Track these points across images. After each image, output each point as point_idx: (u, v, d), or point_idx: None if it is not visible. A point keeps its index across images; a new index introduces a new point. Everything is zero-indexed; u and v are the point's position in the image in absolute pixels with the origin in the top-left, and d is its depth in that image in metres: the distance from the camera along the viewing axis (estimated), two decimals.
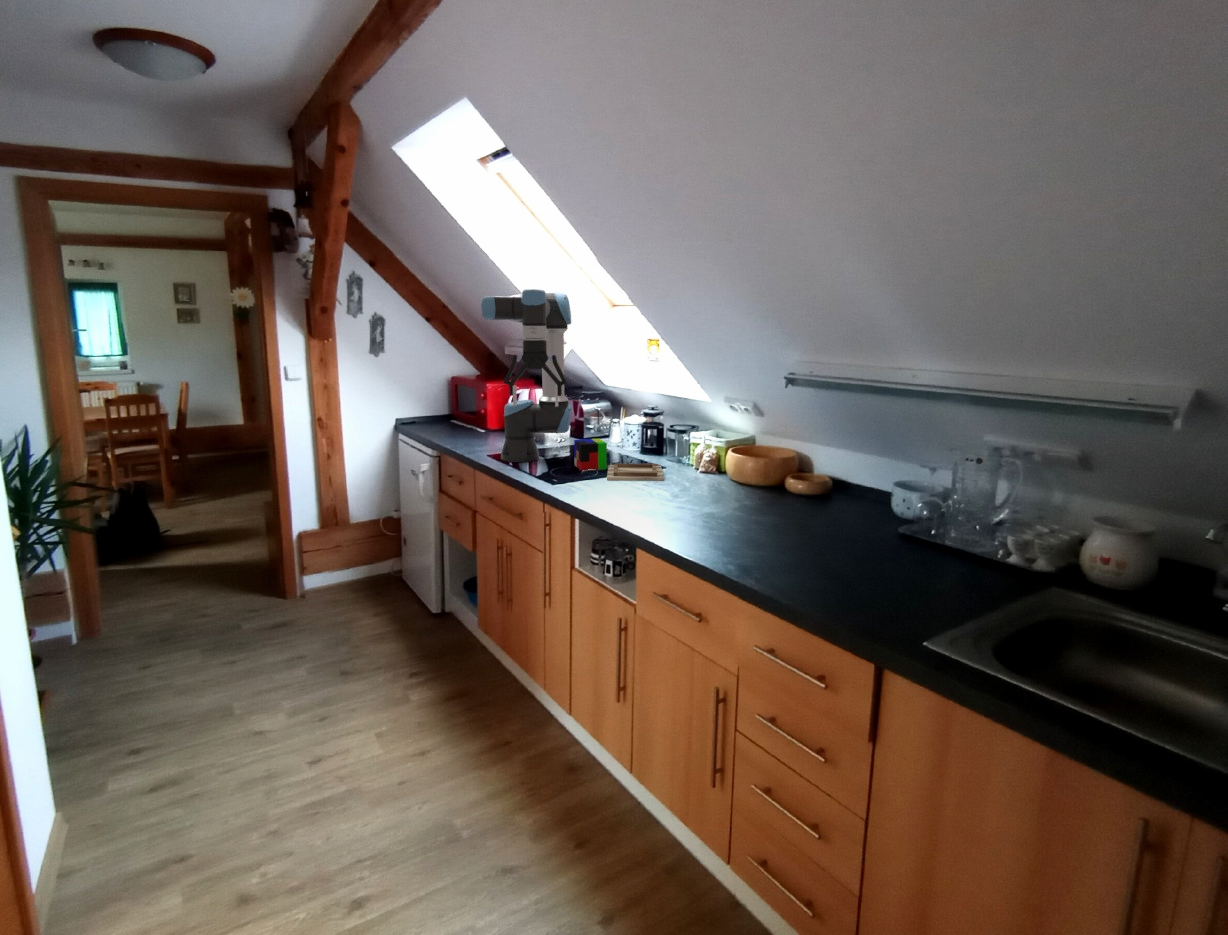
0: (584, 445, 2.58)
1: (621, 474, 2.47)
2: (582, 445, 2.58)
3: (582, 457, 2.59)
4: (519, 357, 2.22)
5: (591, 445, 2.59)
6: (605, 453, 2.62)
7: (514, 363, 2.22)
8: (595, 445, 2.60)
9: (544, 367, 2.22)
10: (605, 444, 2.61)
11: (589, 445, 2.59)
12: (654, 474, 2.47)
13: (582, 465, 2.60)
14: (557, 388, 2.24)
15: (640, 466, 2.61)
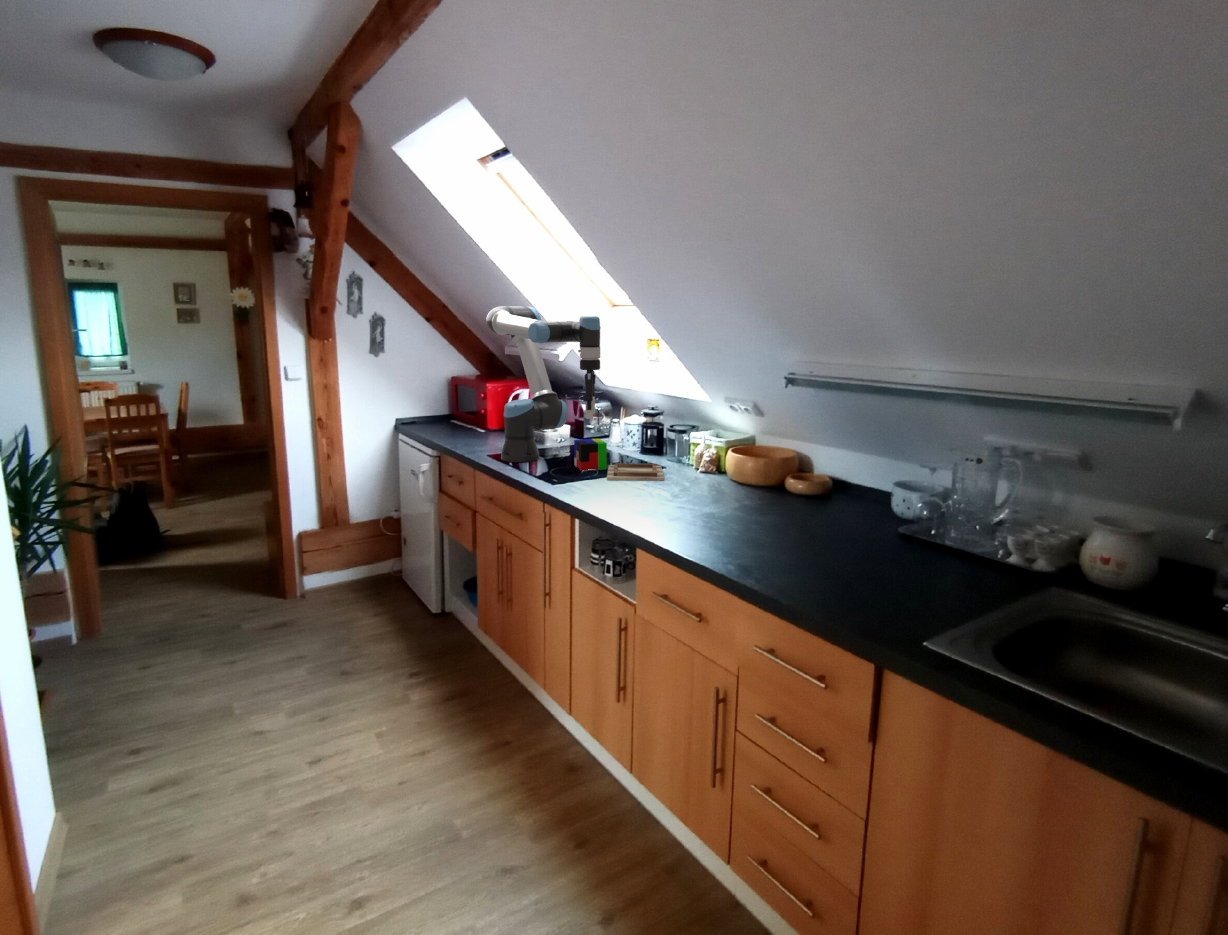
0: (584, 445, 2.59)
1: (621, 474, 2.47)
2: (582, 445, 2.58)
3: (582, 457, 2.59)
4: None
5: (591, 445, 2.59)
6: (605, 453, 2.62)
7: None
8: (595, 445, 2.60)
9: (585, 383, 2.56)
10: (605, 444, 2.61)
11: (589, 445, 2.59)
12: (654, 474, 2.47)
13: (582, 465, 2.60)
14: (586, 402, 2.54)
15: (640, 466, 2.61)
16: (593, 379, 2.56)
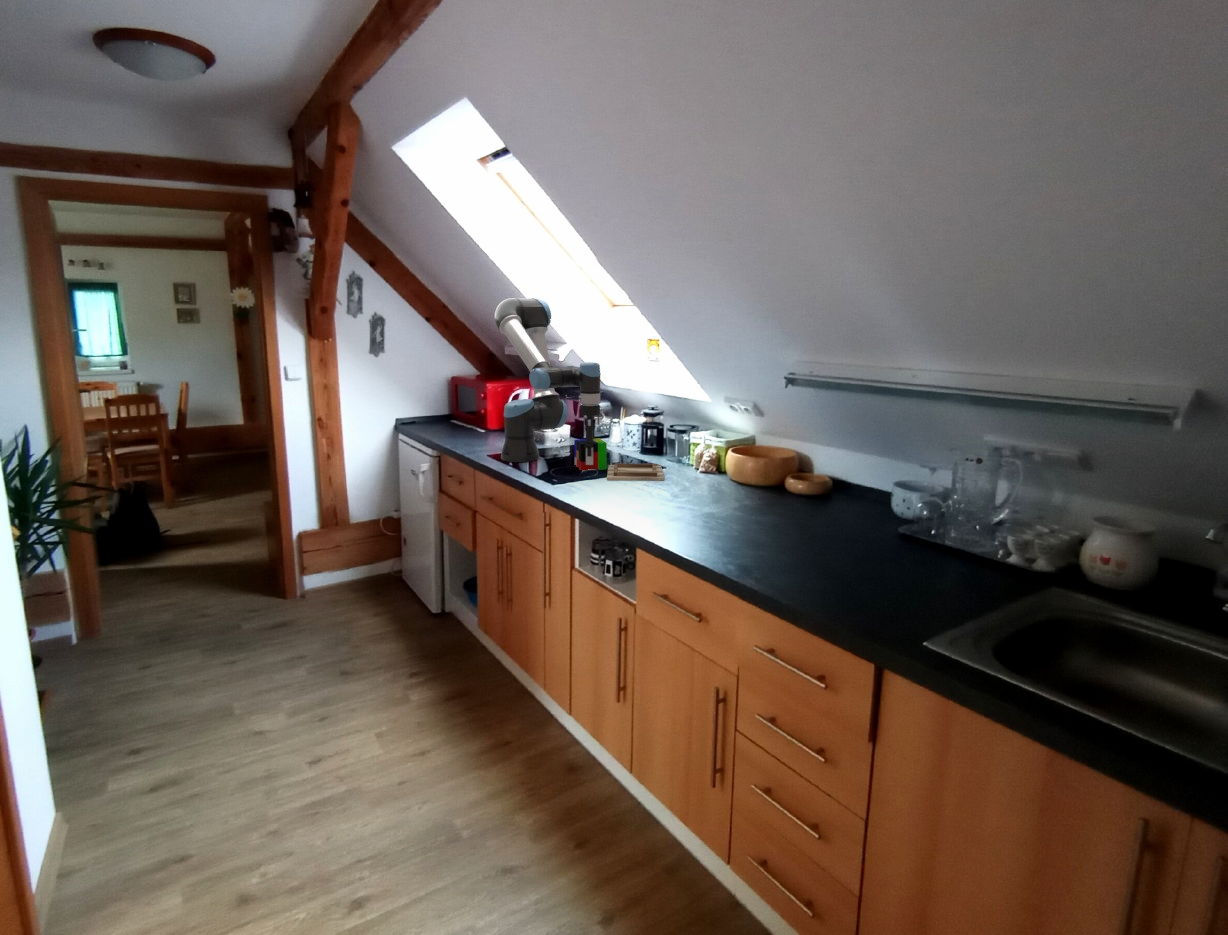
0: None
1: (621, 474, 2.47)
2: (582, 445, 2.58)
3: (582, 457, 2.59)
4: None
5: None
6: (605, 453, 2.62)
7: None
8: (595, 445, 2.60)
9: (585, 428, 2.60)
10: (605, 444, 2.61)
11: None
12: (654, 474, 2.47)
13: (582, 465, 2.60)
14: (586, 449, 2.58)
15: (640, 466, 2.61)
16: (593, 425, 2.60)
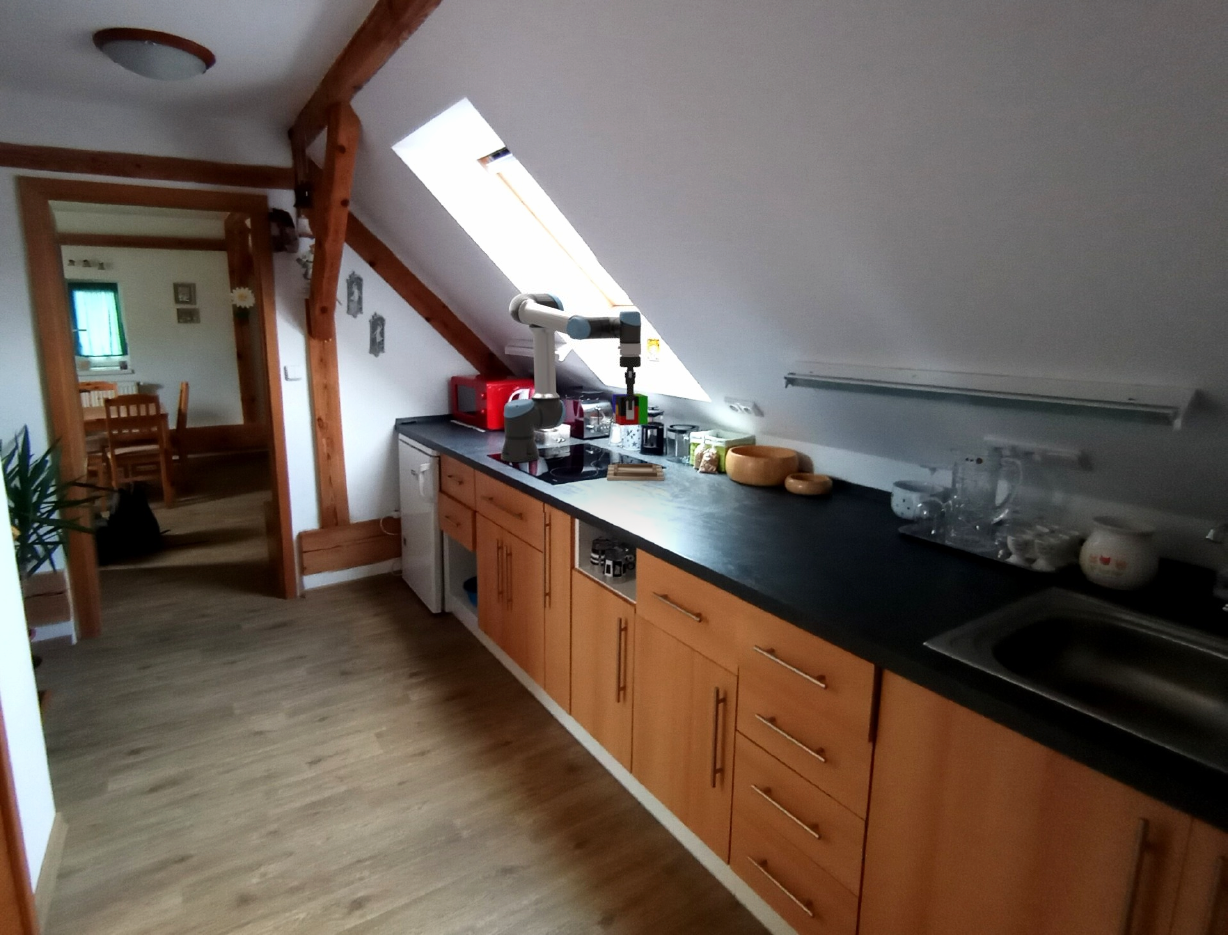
0: (624, 398, 2.45)
1: (621, 474, 2.47)
2: (622, 398, 2.44)
3: (622, 411, 2.45)
4: None
5: None
6: (646, 407, 2.47)
7: None
8: (636, 398, 2.46)
9: (625, 381, 2.46)
10: (646, 397, 2.47)
11: None
12: (654, 474, 2.47)
13: (622, 419, 2.46)
14: (627, 402, 2.44)
15: (640, 466, 2.61)
16: (634, 377, 2.46)
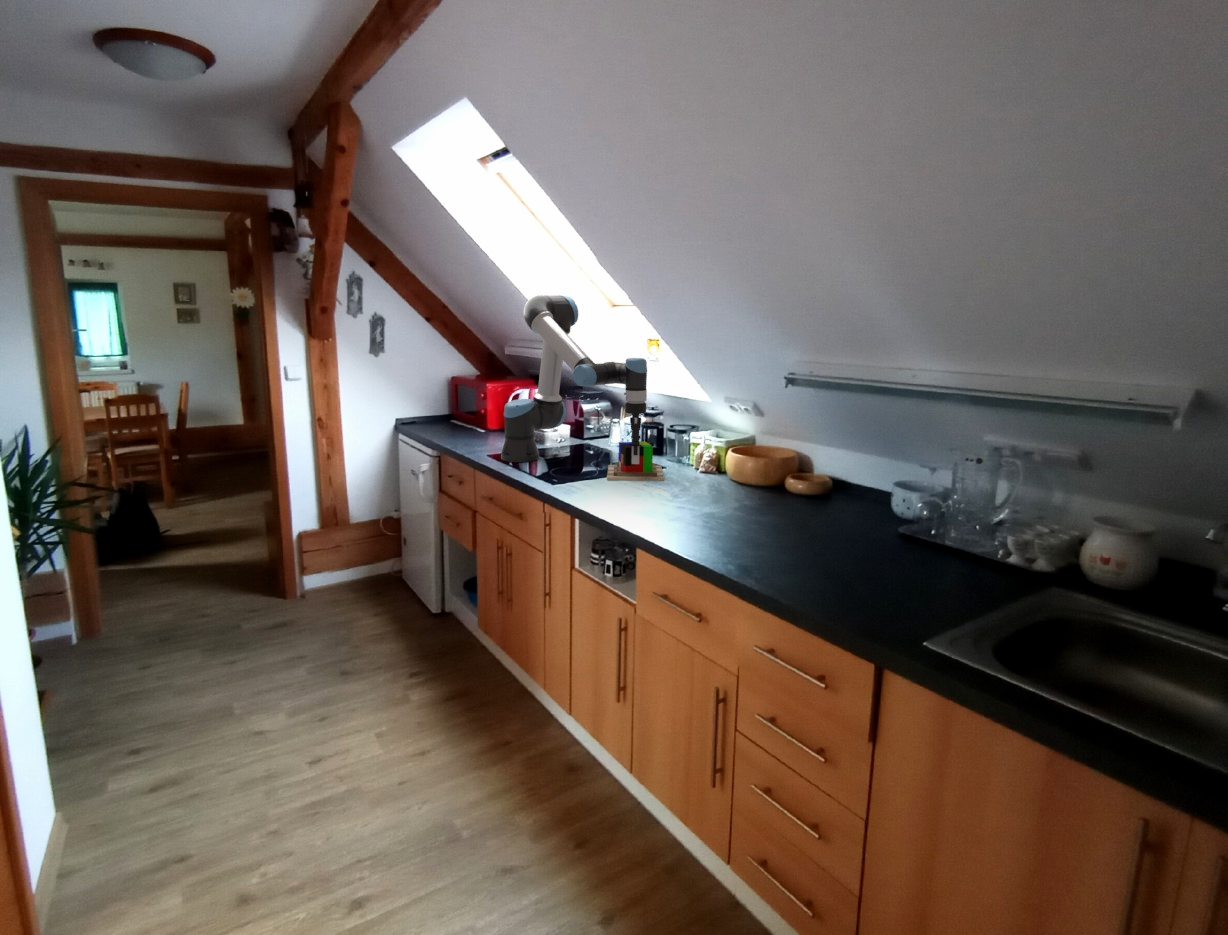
0: (629, 448, 2.47)
1: (621, 474, 2.47)
2: (627, 448, 2.47)
3: (627, 460, 2.48)
4: None
5: None
6: (651, 457, 2.50)
7: None
8: (640, 448, 2.48)
9: None
10: (651, 447, 2.49)
11: None
12: (654, 474, 2.47)
13: (627, 469, 2.49)
14: (632, 448, 2.46)
15: None
16: (639, 423, 2.48)
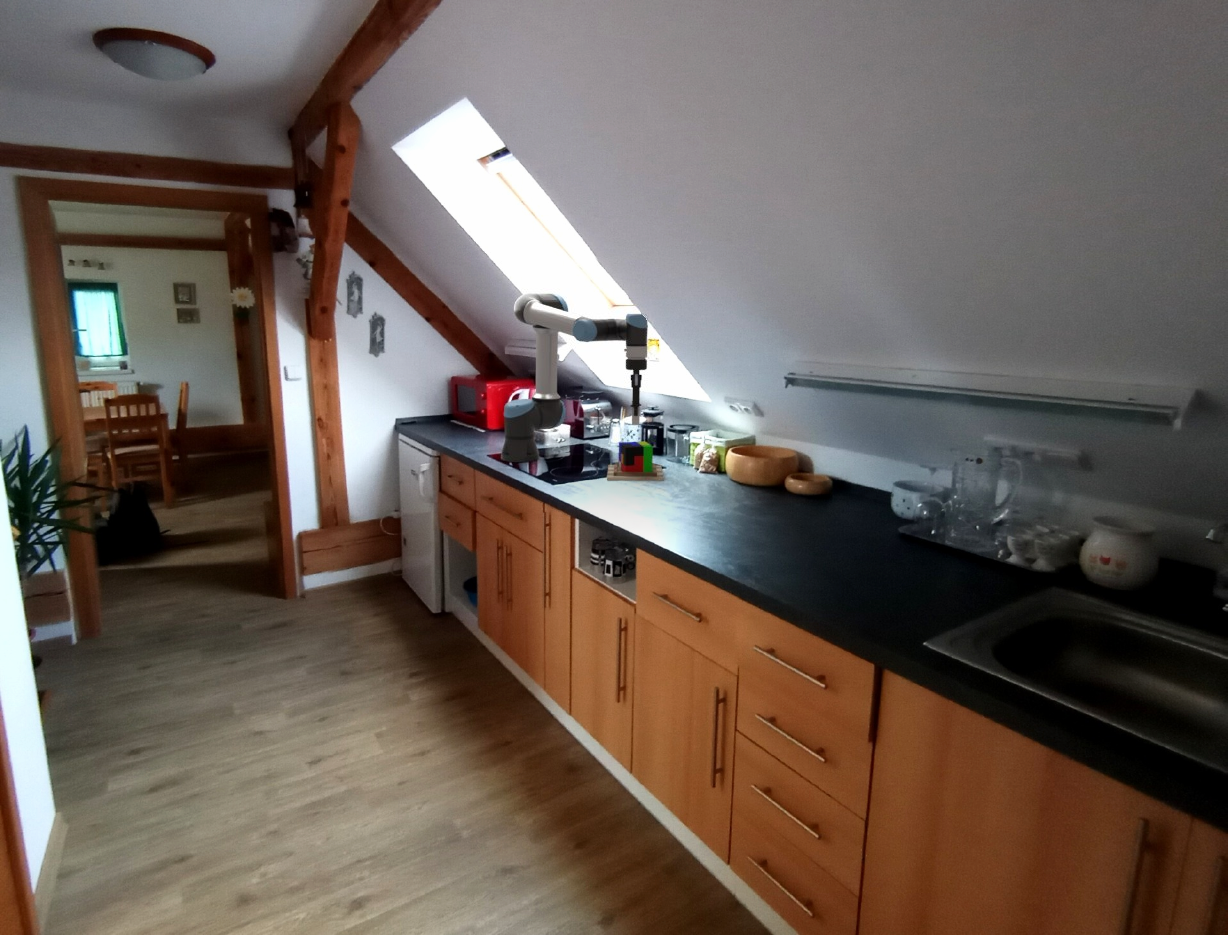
0: (629, 448, 2.47)
1: (621, 474, 2.47)
2: (627, 448, 2.47)
3: (627, 460, 2.48)
4: None
5: (636, 448, 2.48)
6: (651, 457, 2.50)
7: None
8: (640, 448, 2.48)
9: (631, 385, 2.47)
10: (651, 447, 2.49)
11: (634, 448, 2.48)
12: (654, 474, 2.47)
13: (627, 469, 2.49)
14: (633, 408, 2.49)
15: None
16: (640, 381, 2.46)
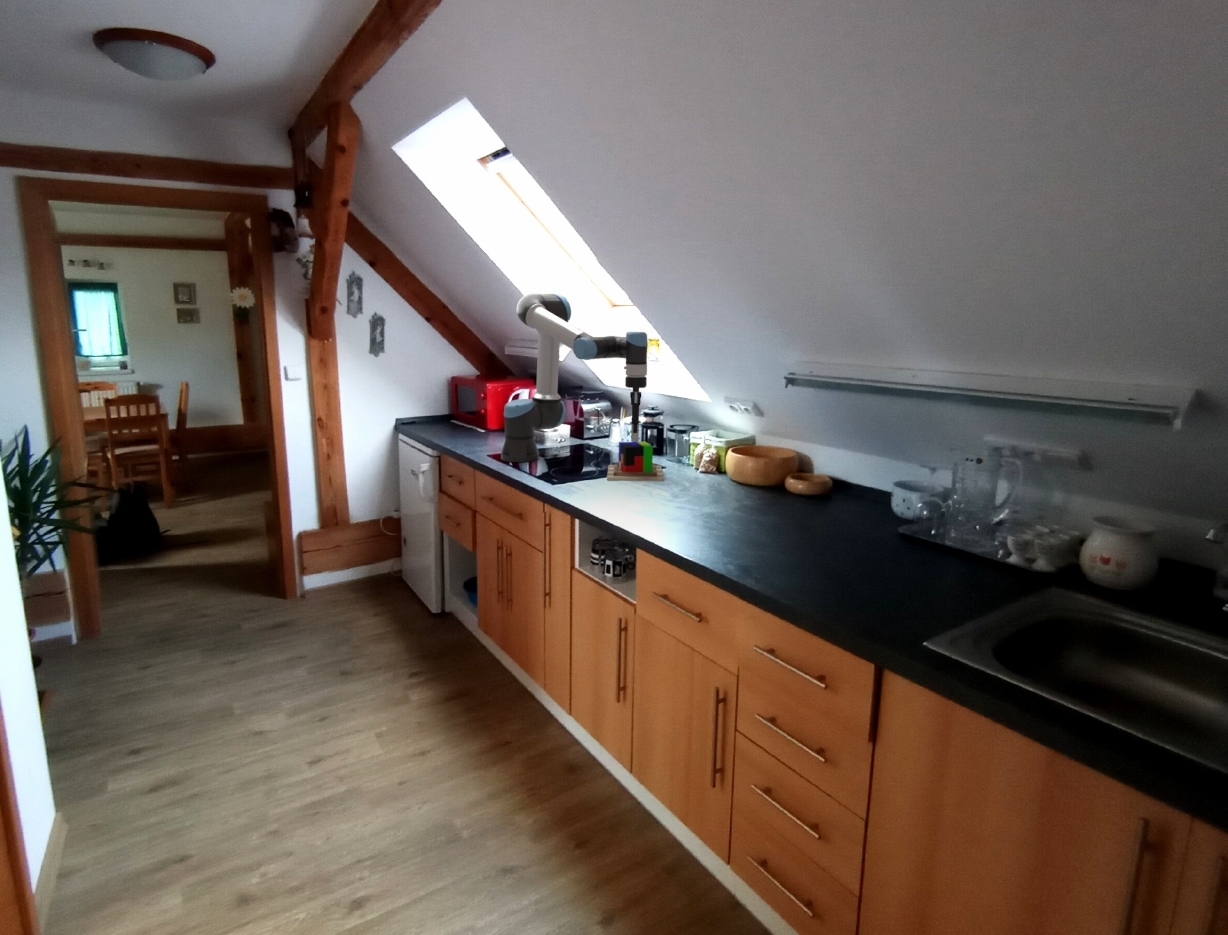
0: (629, 448, 2.47)
1: (621, 474, 2.47)
2: (627, 448, 2.47)
3: (627, 460, 2.48)
4: None
5: (636, 448, 2.48)
6: (651, 457, 2.50)
7: None
8: (640, 448, 2.48)
9: None
10: (651, 447, 2.49)
11: (634, 448, 2.48)
12: (654, 474, 2.47)
13: (627, 469, 2.49)
14: (632, 425, 2.51)
15: None
16: (639, 399, 2.47)
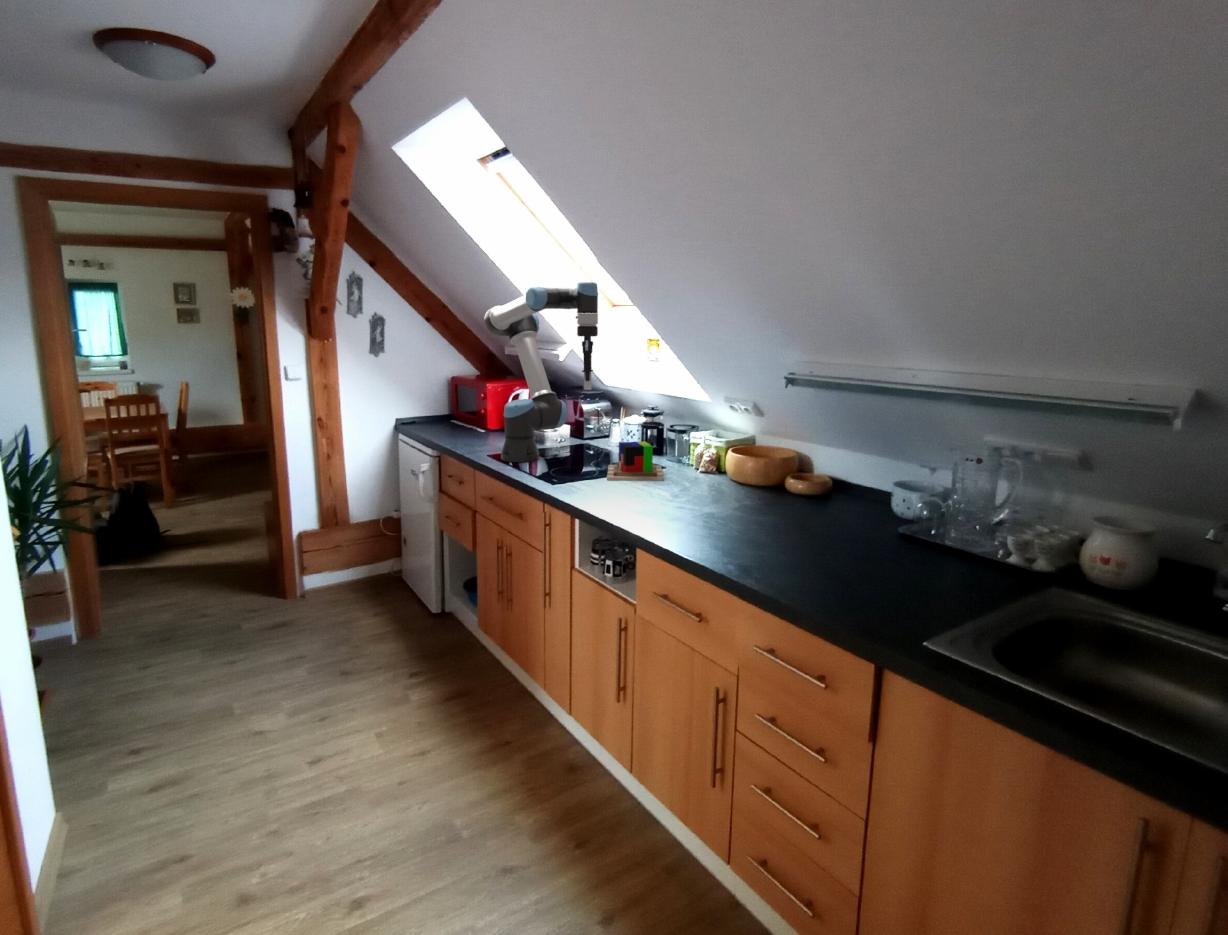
0: (629, 448, 2.47)
1: (621, 474, 2.47)
2: (627, 448, 2.47)
3: (627, 460, 2.48)
4: None
5: (636, 448, 2.48)
6: (651, 457, 2.50)
7: None
8: (640, 448, 2.48)
9: None
10: (651, 447, 2.49)
11: (634, 448, 2.48)
12: (654, 474, 2.47)
13: (627, 469, 2.49)
14: (584, 374, 2.60)
15: None
16: (591, 347, 2.57)
